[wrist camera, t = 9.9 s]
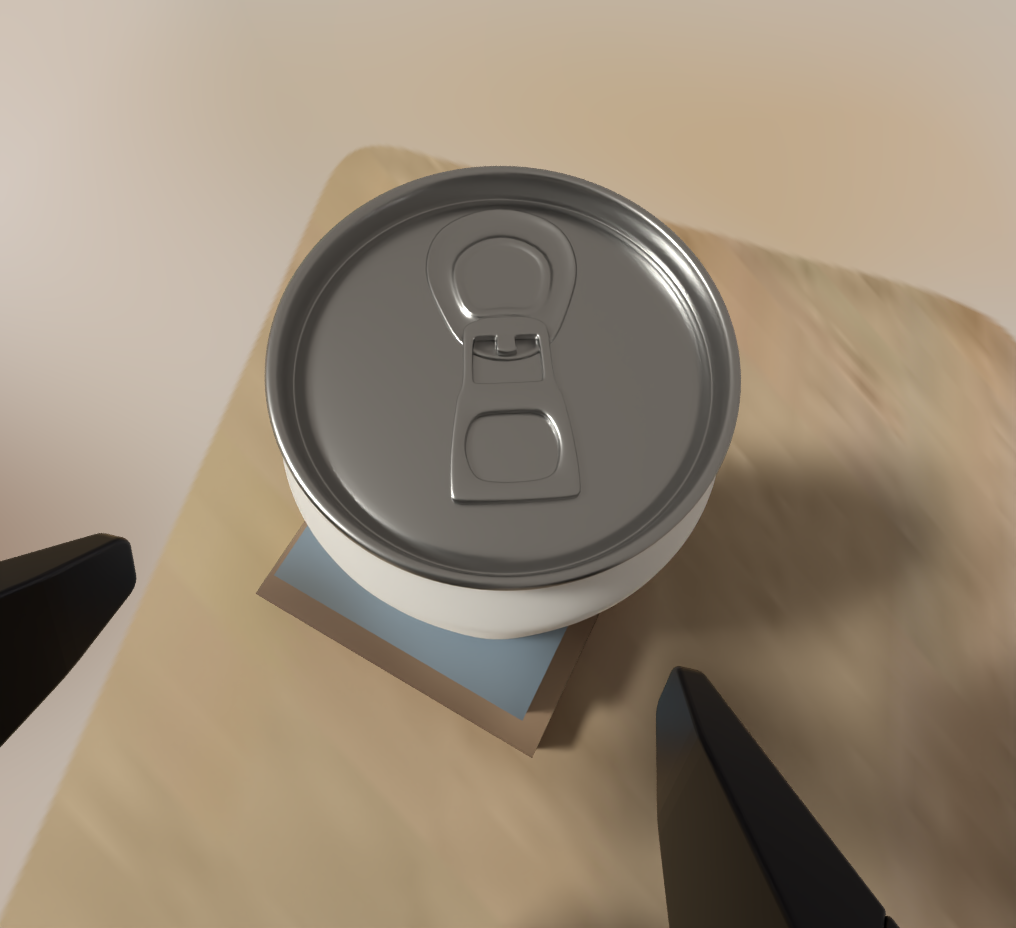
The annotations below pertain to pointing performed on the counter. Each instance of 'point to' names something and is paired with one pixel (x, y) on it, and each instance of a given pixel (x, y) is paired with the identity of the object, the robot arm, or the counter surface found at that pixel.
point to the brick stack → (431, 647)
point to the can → (502, 397)
